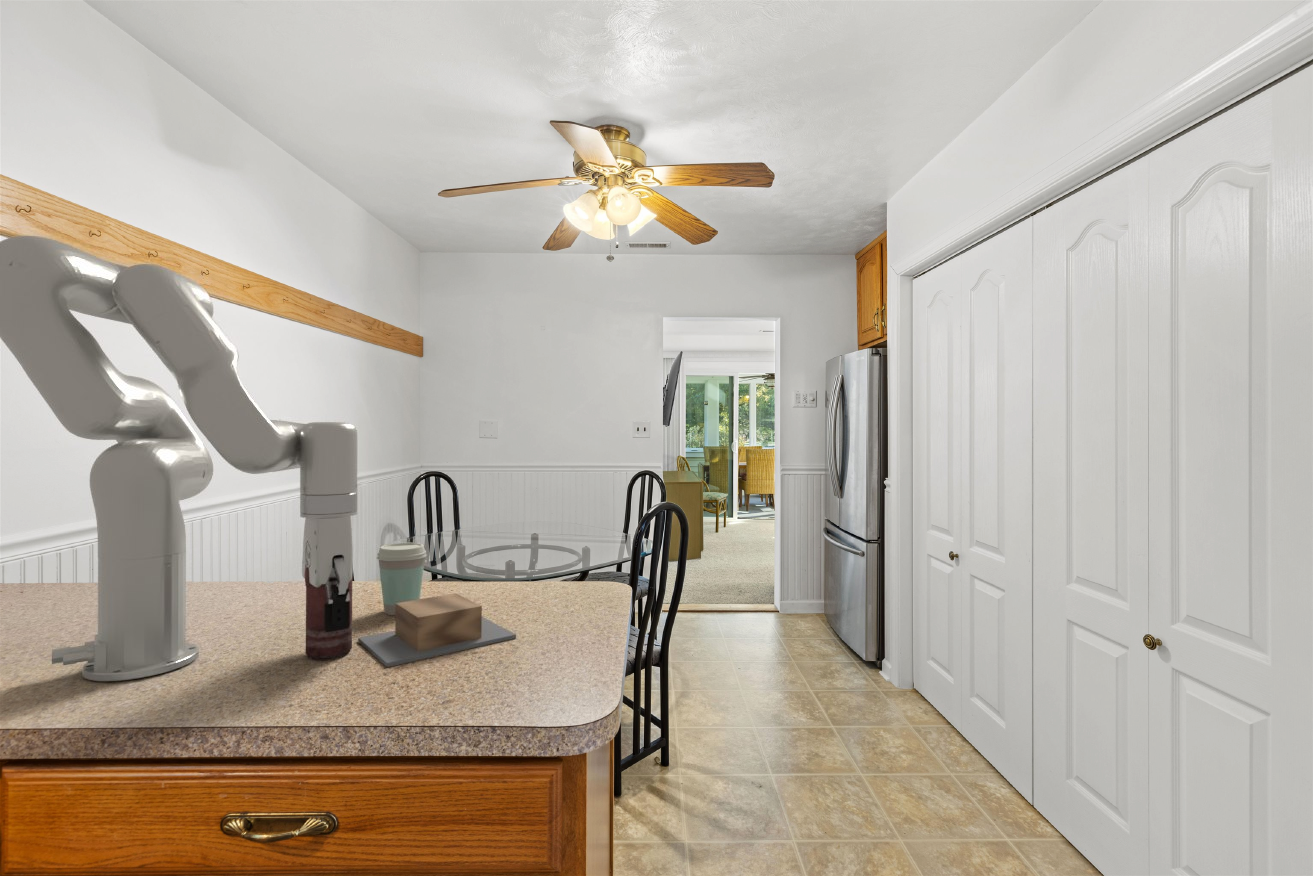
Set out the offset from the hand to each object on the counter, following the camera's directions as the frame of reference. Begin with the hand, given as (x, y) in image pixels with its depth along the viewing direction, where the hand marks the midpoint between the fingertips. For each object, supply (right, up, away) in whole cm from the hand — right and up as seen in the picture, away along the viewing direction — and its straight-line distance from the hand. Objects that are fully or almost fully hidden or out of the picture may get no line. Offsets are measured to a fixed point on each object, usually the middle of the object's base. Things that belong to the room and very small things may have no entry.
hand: (329, 622), depth 93 cm
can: (0, -5, 0) cm, 5 cm away
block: (+14, -4, +7) cm, 16 cm away
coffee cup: (+2, -5, +23) cm, 23 cm away
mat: (+14, -5, +7) cm, 16 cm away
